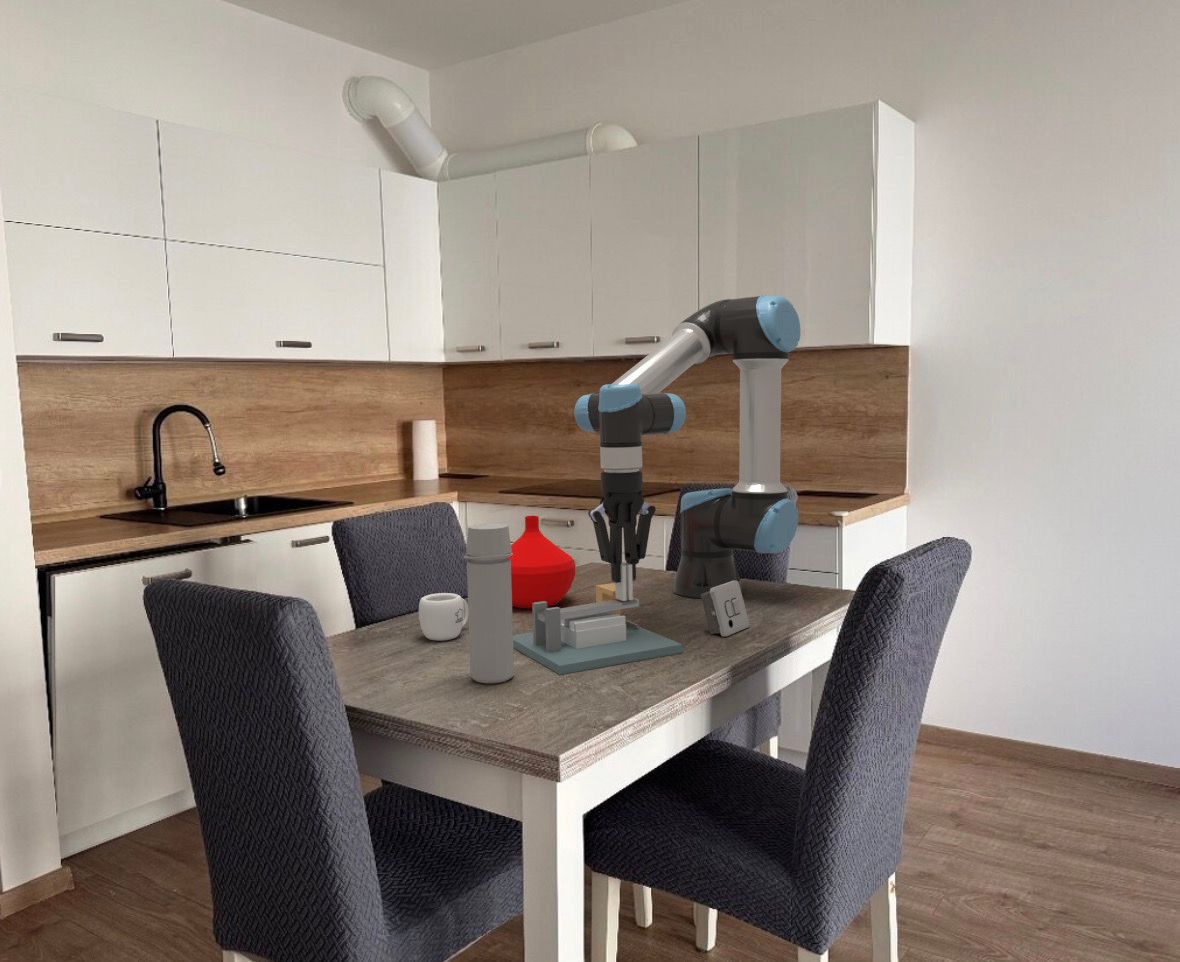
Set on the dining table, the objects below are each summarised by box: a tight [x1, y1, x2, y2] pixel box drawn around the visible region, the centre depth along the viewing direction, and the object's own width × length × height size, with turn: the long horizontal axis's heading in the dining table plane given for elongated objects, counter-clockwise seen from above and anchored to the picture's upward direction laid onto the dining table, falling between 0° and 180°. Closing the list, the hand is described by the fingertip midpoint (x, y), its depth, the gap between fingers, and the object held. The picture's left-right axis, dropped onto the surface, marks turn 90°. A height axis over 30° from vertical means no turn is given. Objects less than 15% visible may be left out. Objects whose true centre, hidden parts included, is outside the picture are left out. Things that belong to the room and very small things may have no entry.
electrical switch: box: [700, 581, 750, 638], centre depth 183 cm, size 9×5×9 cm, turn 141°
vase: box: [507, 515, 576, 610], centre depth 208 cm, size 18×18×19 cm
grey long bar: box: [537, 597, 640, 623], centre depth 172 cm, size 19×3×1 cm, turn 118°
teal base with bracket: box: [513, 601, 683, 675], centre depth 172 cm, size 24×22×9 cm
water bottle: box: [463, 522, 515, 684], centre depth 156 cm, size 9×8×25 cm
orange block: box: [595, 582, 622, 616], centre depth 181 cm, size 4×6×8 cm, turn 28°
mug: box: [418, 592, 469, 642], centre depth 184 cm, size 12×8×8 cm
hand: (624, 598), depth 175 cm, fingers closed, pressing on grey long bar
